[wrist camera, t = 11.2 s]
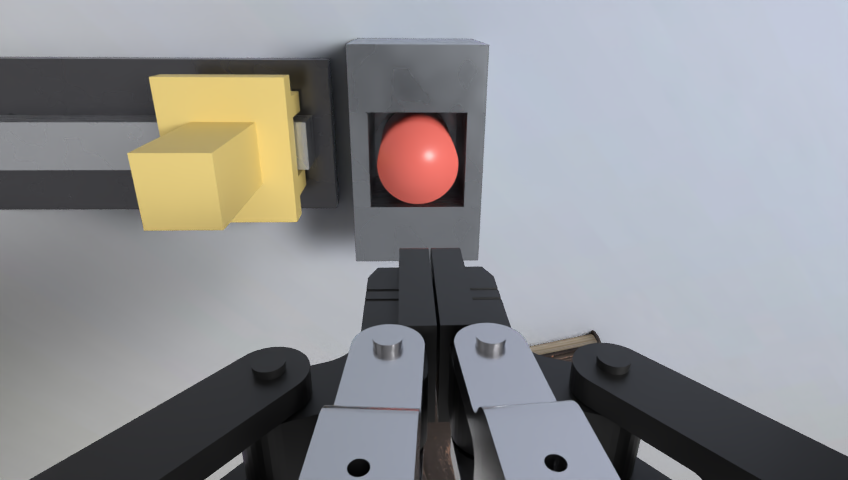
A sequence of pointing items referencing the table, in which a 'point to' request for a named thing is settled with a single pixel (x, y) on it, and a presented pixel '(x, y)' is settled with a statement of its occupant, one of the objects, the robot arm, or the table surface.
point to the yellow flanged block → (219, 153)
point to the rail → (130, 126)
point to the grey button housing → (416, 92)
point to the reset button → (417, 157)
